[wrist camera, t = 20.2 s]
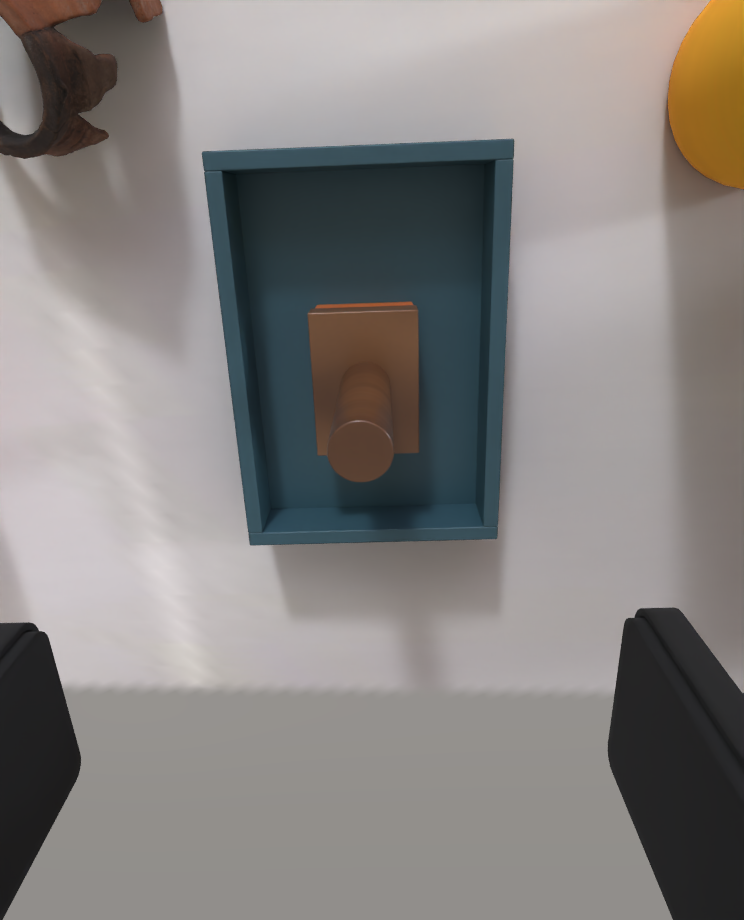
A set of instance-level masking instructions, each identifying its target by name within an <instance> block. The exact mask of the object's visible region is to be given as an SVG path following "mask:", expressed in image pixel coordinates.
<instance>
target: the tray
mask: <svg viewBox="0 0 744 920" xmlns="http://www.w3.org/2000/svg"><path fill="white" fill-rule="evenodd" d="M202 158H203V166H204V171H205V172H204V175H205V183H206V191H207V200H208V208H209V216H210V224H211V232H212V240H213V249H214V257H215V265H216V273H217V281H218V289H219V298H220V306H221V314H222V322H223V330H224V338H225V347H226V355H227V363H228V371H229V379H230V387H231V396H232V404H233V412H234V420H235V428H236V436H237V445H238V453H239V461H240V469H241V477H242V485H243V494H244V502H245V510H246V518H247V526H248V532H249V542H250V545H285V544H324V543H363V542H401V541H440V540H479V539H497V532H498V527H497V526H498V511H499V487H500V464H501V441H502V417H503V394H504V371H505V347H506V324H507V300H508V277H509V254H510V230H511V207H512V184H513V158H514V139H497V140H472V141H448V142H423V143H399V144H375V145H350V146H326V147H301V148H277V149H253V150H228V151H204V152H202ZM386 302H412V303H413V305H416V306H417V308H418V331H419V453H399V454H394V457H393V461H392V463H391V465H390V467H389V468H388V470H387V471H386V472H385V473H384V474H383V475H382V476H380V477H379V478H377V479H375V480H372V481H369V482H352V481H349V480H347V479H344V478H343V477H341V476H340V475H338V474H337V473H336V472H335V471H334V469H333V468H332V467H331V465H330V463H329V461H328V457H327V456H318V455H317V441H316V427H315V413H314V399H313V385H312V371H311V357H310V343H309V329H308V312H309V311H310V309H313V308H315V307H316V306H317V305H326V304H356V303H386Z"/></svg>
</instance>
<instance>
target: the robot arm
mask: <svg viewBox="0 0 744 920" xmlns="http://www.w3.org/2000/svg"><path fill="white" fill-rule="evenodd" d="M608 757H609V762H610V767H611V770H612V773H613V775H614V777H615V780H616V782H617V785H618V787H619V790H620V792H621V794H622V797H623V799H624V802H625V804H626V807H627V809H628V811H629V814H630V816H631V819H632V821H633V824H634V826H635V828H636V831H637V833H638V836H639V838H640V840H641V843H642V845H643V848H644V850H645V853H646V855H647V857H648V860H649V862H650V865H651V867H652V869H653V872H654V875H655V877H656V879H657V882H658V884H659V887H660V889H661V891H662V894H663V896H664V899H665V901H666V904H667V906H668V909H669V911H670V913H671V916H672V918H673V920H744V693H742V692H741V691H740V689H739V688H738V687H737V685H736V684H735V683H734V681H733V680H732V679H731V677H730V676H729V675H728V673H727V672H726V671H725V669H724V668H723V667H722V665H721V664H720V663H719V661H718V660H717V659H716V657H715V656H714V655H713V653H712V652H711V651H710V649H709V648H708V647H707V645H706V644H705V643H704V641H703V640H702V639H701V637H700V636H699V635H698V633H697V632H696V630H695V629H694V628H693V626H692V625H691V624H690V622H689V621H688V620H687V618H686V617H685V616H684V614H683V613H682V612H681V611H680V610H679V609H677V608H641V609H639V610H638V611H637V612H636V614H635V618H628V619H626V621H625V623H624V629H623V636H622V644H621V651H620V658H619V666H618V673H617V681H616V688H615V695H614V703H613V710H612V718H611V726H610V733H609V740H608ZM80 766H81V756H80V751H79V747H78V744H77V740H76V737H75V733H74V729H73V725H72V722H71V718H70V714H69V711H68V707H67V704H66V700H65V696H64V693H63V689H62V685H61V682H60V678H59V674H58V671H57V667H56V663H55V660H54V656H53V652H52V649H51V645H50V641H49V638H48V636H47V634H46V633H45V632H42V631H39V630H38V628H37V627H36V625H35V624H33V623H0V920H3V918H4V916H5V914H6V912H7V910H8V908H9V906H10V905H11V903H12V901H13V899H14V897H15V895H16V893H17V891H18V889H19V888H20V886H21V884H22V882H23V880H24V878H25V876H26V874H27V872H28V871H29V869H30V867H31V865H32V863H33V861H34V859H35V857H36V855H37V854H38V852H39V850H40V848H41V846H42V844H43V842H44V840H45V838H46V837H47V835H48V833H49V831H50V829H51V827H52V825H53V823H54V822H55V819H56V818H57V816H58V813H59V812H60V810H61V808H62V806H63V805H64V802H65V801H66V799H67V797H68V795H69V793H70V791H71V789H72V787H73V786H74V784H75V782H76V780H77V777H78V775H79V771H80Z"/></svg>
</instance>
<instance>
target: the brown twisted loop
mask: <svg viewBox="0 0 744 920" xmlns="http://www.w3.org/2000/svg"><path fill="white" fill-rule="evenodd" d="M101 1H102V0H0V16H1V17H2V18H3V19H4V20H5V21H6V23H7V24H8V25H9V26H10V27H11V29H12V30H13V31H14V33H15V34H16V35H17V36H18V37H19V38H20V39H21V41H22V43H23V46H24V48H25V50H26V52H27V54H28V55H29V57H30V59H31V62H32V64H33V66H34V68H35V70H36V73H37V76H38V79H39V83H40V87H41V92H42V97H43V121H42V123H41V125H40V126H39V128H38V130H37V131H35V133H33V134H30V135H21V134H18V133H15V132H13V131H11V130H10V129H9V128H7V127H6V126H5V125H4V124H3V123H2V122H1V121H0V153H1V154H4V155H11V156H13V157H18V158H23V159H26V158H30V157H37V156H41V155H46V154H48V155H52V156H64V155H67V154H69V153H73V152H74V151H76V150H79V149H82V148H85V147H88V146H90V145H95V144H97V143H99V142H101V141H103V140H105V139H107V138H108V137H109V135H108V133H107V132H106V131H105V130H101V129H98V128H96V127H94V126H92V125H91V124H90V123H89V122H87V121H86V120H85V119H84V118H82V117H81V116H80V115H78V113H82V112H86V111H90V110H92V109H93V108H94V107H95V106H97V105H98V104H99V103H100V101H101V100H102V98H103V96H104V94H105V93H106V92H107V91H108V90H110V89H112V88H113V87H114V86H115V85H116V82H117V61H116V58H115V57H114V56H113V55H112V54H98V55H94V54H93V53H92V52H91V51H89V50H88V49H86V48H84V47H82V46H80V45H78V44H76V43H74V42H72V41H71V40H69V39H68V38H66V37H65V36H64V35H62V34H61V33H59V32H58V31H56V30H55V29H54V26H56V25H58V24H60V23H63V22H66V21H68V20H70V19H73V18H77V17H80V16H90V15H93V14H95V13H96V12H97V9H98V8H99V7H100V5H101ZM129 2H130V4H131V6H132V8H133V11H134V13H135V16H136V18H137V19H138V21H140V22H143V23H144V22H148V21H150V20H152V19H153V17H155V16H158V15H161V14H162V4H161V2H160V0H129Z"/></svg>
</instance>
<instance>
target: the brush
mask: <svg viewBox="0 0 744 920" xmlns="http://www.w3.org/2000/svg"><path fill="white" fill-rule="evenodd" d="M308 329H309V343H310V357H311V371H312V385H313V399H314V413H315V427H316V441H317V455H318V456H327V457H328V461H329V463H330V465H331V467H332V468H333V469H334V471H335V472H336V473H337V474H338V475H340V476H341V477H343V478H344V479H347V480H349V481H352V482H369V481H372V480H375V479H377V478H379V477H380V476H382V475H383V474H384V473H385V472H386V471H387V470H388V468H389V467H390V465H391V463H392V461H393V457H394V454H399V453H419V331H418V308H417V306H416V305H413V303H412V302H386V303H356V304H326V305H317V306H316V307H315V308H313V309H310V311H309V312H308Z"/></svg>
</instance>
